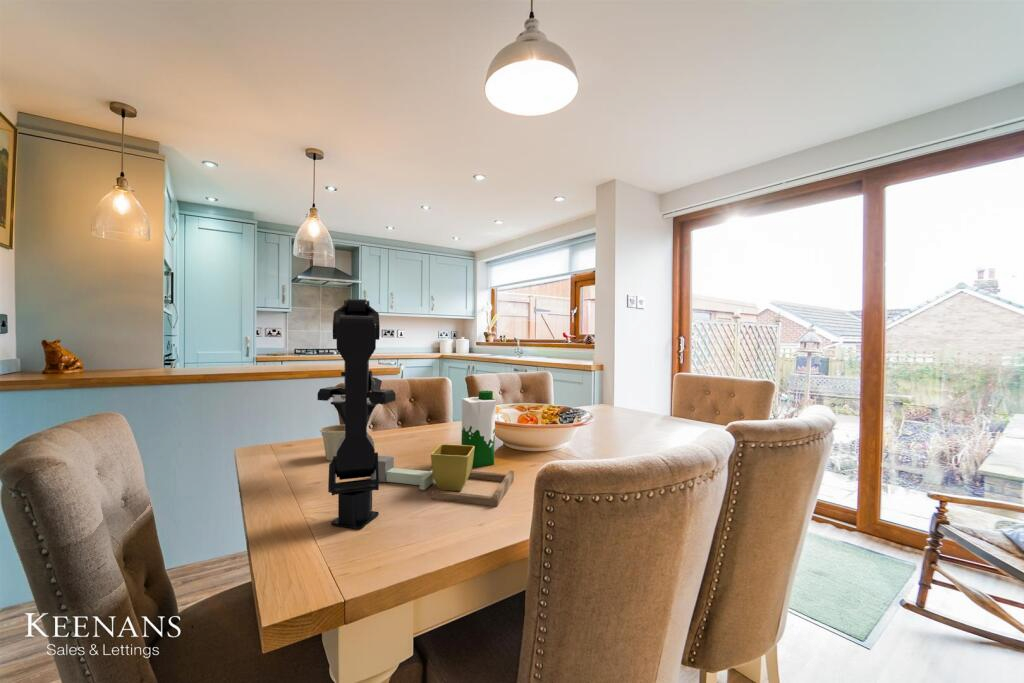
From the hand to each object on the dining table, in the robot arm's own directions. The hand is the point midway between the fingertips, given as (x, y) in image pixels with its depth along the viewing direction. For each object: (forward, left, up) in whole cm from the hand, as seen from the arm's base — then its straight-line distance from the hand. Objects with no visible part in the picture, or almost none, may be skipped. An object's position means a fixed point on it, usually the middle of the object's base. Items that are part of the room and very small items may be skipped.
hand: (356, 429), depth 103 cm
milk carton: (+19, -26, -12) cm, 34 cm away
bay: (0, -31, -12) cm, 33 cm away
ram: (0, -13, -12) cm, 18 cm away
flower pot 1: (+12, +14, -12) cm, 22 cm away
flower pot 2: (0, -26, -12) cm, 29 cm away
